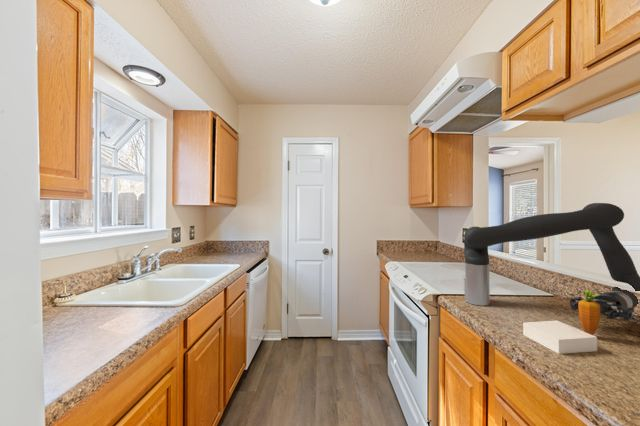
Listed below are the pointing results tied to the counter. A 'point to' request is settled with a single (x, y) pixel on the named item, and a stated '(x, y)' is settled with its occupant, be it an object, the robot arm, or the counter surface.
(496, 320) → the counter surface
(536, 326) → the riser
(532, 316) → the counter surface
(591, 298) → the carrot
